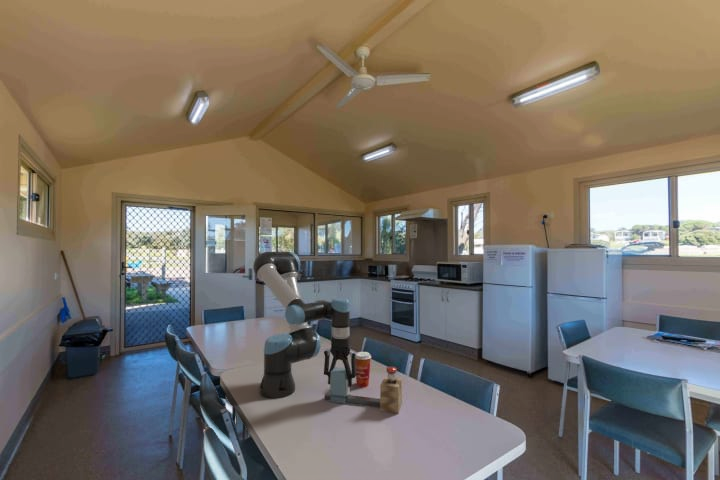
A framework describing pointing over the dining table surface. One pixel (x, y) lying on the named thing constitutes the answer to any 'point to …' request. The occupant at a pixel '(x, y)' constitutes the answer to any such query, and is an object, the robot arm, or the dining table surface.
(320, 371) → the dining table surface
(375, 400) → the rail
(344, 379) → the block
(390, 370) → the plunger
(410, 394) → the dining table surface
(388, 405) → the housing
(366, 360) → the paper cup
